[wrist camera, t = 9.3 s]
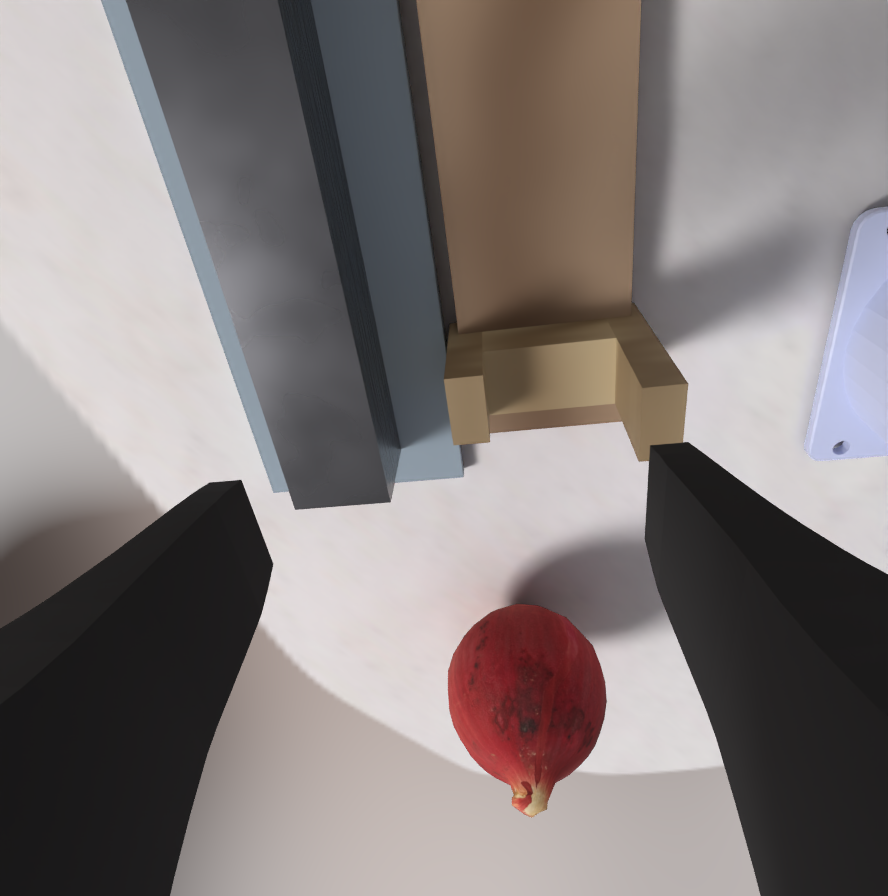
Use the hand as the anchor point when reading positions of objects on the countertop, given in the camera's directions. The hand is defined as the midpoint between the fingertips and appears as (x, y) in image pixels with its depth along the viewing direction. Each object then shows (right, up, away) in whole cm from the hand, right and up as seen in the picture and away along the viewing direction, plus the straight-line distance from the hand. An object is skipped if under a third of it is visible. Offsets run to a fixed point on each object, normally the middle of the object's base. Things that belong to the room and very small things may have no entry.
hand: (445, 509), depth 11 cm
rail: (-4, +9, +5) cm, 11 cm away
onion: (+3, -6, +15) cm, 16 cm away
